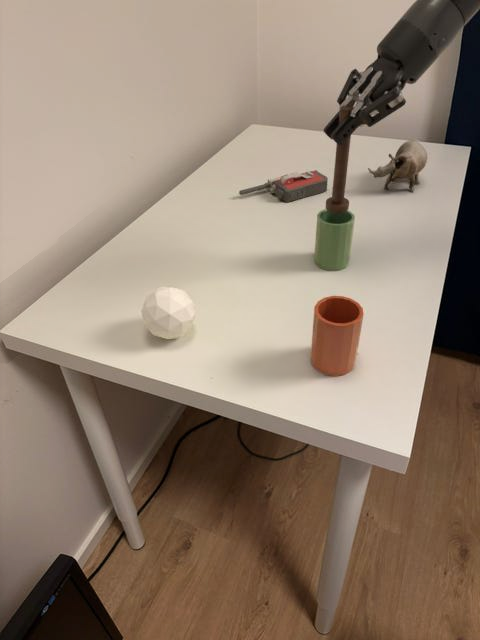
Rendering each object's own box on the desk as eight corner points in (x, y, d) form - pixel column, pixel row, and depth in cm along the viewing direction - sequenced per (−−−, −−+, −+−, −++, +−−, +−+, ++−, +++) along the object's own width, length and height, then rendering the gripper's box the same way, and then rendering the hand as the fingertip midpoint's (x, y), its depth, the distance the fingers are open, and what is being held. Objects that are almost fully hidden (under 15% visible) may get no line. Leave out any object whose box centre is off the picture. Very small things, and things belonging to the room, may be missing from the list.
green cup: (353, 256, 88) (359, 212, 83) (342, 274, 84) (347, 228, 79) (321, 249, 91) (325, 205, 85) (308, 265, 87) (311, 220, 81)
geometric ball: (185, 339, 77) (213, 304, 73) (159, 357, 70) (188, 319, 66) (152, 306, 77) (177, 270, 74) (122, 321, 70) (149, 282, 67)
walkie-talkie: (310, 177, 116) (237, 196, 109) (311, 159, 113) (236, 178, 106) (333, 190, 110) (256, 212, 103) (334, 171, 107) (256, 192, 100)
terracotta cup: (360, 353, 69) (369, 303, 63) (346, 381, 65) (354, 331, 59) (319, 340, 71) (324, 291, 66) (303, 367, 67) (307, 317, 62)
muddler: (353, 207, 81) (365, 107, 71) (338, 215, 79) (349, 113, 69) (335, 200, 83) (344, 102, 73) (320, 208, 81) (328, 108, 71)
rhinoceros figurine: (443, 165, 112) (431, 120, 100) (414, 215, 111) (399, 175, 99) (412, 160, 117) (397, 116, 105) (384, 207, 116) (366, 168, 104)
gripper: (380, 10, 70) (298, 109, 76) (435, 25, 60) (336, 137, 66) (406, 48, 75) (326, 138, 80) (462, 67, 65) (366, 169, 70)
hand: (331, 138), depth 73 cm, fingers closed on muddler, 2 cm apart
